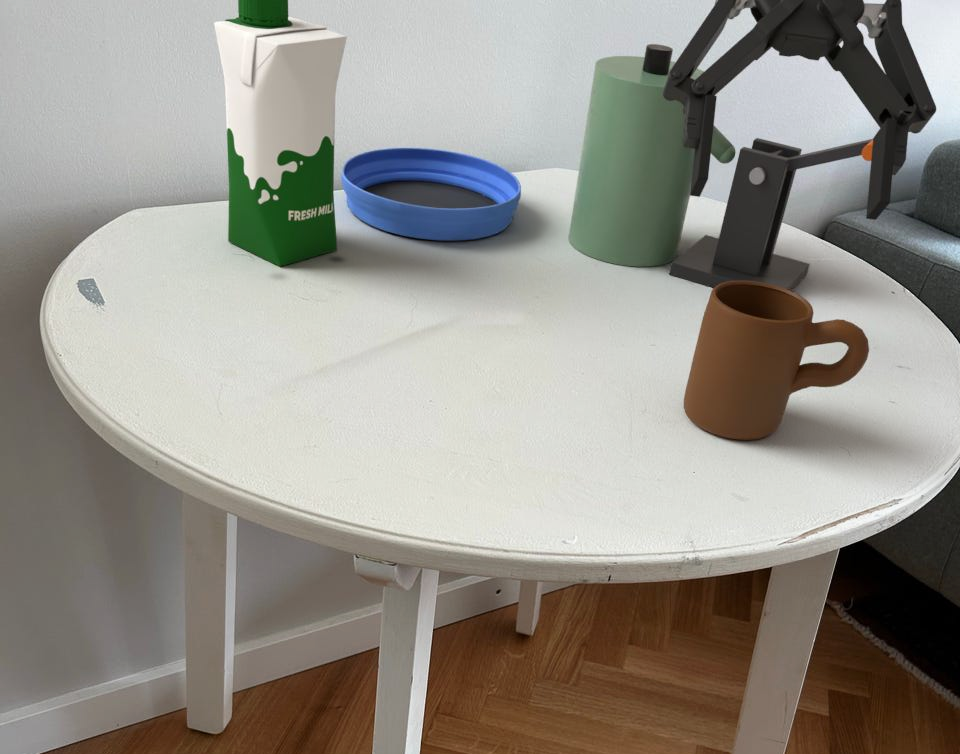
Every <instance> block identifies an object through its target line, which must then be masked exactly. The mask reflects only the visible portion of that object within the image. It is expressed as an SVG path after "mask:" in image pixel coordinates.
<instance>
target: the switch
mask: <svg viewBox="0 0 960 754" xmlns="http://www.w3.org/2000/svg"><path fill="white" fill-rule="evenodd" d="M872 147H873V138H870V139H865V140H861V141H857V142H853V143H848V144H847V143H846V144H843V145H839V146H834V147H830V148H826V149H825V148H824V149H821V150H817V151H812V152H807V153H803V154H802V153H801V154H800V155H798V156H794V157H789V158H790V160H789V164H788V168H787V171H791V170H796V171H797V170H799V169H800V170H801V169H805V168H810V167H814V166H820V165H823V164H828V163H832V162H833V163H834V162H836V161H837V162H838V161H842V160H846V159H851V158H855V157H860V156H861V157H862V159H863V160H864V161H866V162H871V158H872ZM771 154H775V155H779V156H783V150H779V151H775V152H771ZM785 177H786V175H785Z"/></svg>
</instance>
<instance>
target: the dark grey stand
mask: <svg viewBox="0 0 960 754" xmlns="http://www.w3.org/2000/svg"><path fill="white" fill-rule="evenodd" d="M751 145H752V146H751V147H747V146H743V147H741V148H740V149H739V153H738V157H737V161H736V166H735V170H734V174H733V178H732V183H731V186H730V190H729V194H728V199H727V203H726V208H725V211H724V215H723V219H722V224H721V228H720V233H719V236H718V237H715V236H712V235H708V234H705V235H704V236H702V237H701V238H700V239H699V240H697V241H696V242H695V243H694V244H693V245H691V246H690V247H689V248H688V249H686V250H685V251H683V253H681V254H680V255H679V256H677V257H676V258H675V259H674V260H672V261H671V262H670V268H669V272H668V275H670V276H673V277H676V278H679V279H682V280H686V281H690V282H693V283H695V284H701V285H702V286H707V287H709V288H710V287H711V288H712V289H714V288H715V287H716V286H717V285H719V284H721V283H724V282H729V281H755V282H762V283H767V284H771V285H775V286H779V287H782V288H785V289H787V290H790V291H792V292H794V290H795V289H796V288H797V287H798V286H799V284H801V283H802V282H803V280H804V279H805V278H806V277H807V276H808V272H809V269H810V265H811V263H808V262H804V261H801V260H798V259H795V258H790V257H786V256H782V255H781V254H780V255H779V254H775V253H774V252H775V249H776V245H777V241H778V237H779V235H780V230H781V226H782V223H783V219H784V216H785V213H786V209H787V205H788V202H789V198H790V195H791V190H792V187H793V185H794V184H793V183H794V180H795V176H796V172H797V169H796V170H791V171H787V168H788V164H789V160H790V158H789V157H794V156H798V155H802V148H800V147H795V146H792V145H788V144H785V143H784V144H783V143H779V142H775V141H773V140H772V141H771V140H767V139H763V138H759V137H756V138H754V139H753V141H752V144H751ZM779 150H783V156H779V155H775V154H771V152H775V151H779ZM785 175H786V177H785Z"/></svg>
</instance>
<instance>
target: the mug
mask: <svg viewBox="0 0 960 754" xmlns="http://www.w3.org/2000/svg"><path fill="white" fill-rule="evenodd" d="M813 318H814V309H813V306H812V303H810V302H809V300H807V299H806V298H805V297H803V296H801V295H800V294H798V293H796V292H795V291H790V290H787V289H785V288H782V287H779V286H775V285H771V284H767V283H762V282H755V281H729V282H724V283H721V284H719V285H717V286H716V287H715V288H712V290H711V291H710V295H709V298H708V302H707V304H706V307H705V310H704V312H703V316H702V321H701V324H700V328H699V332H698V335H697V340H696V344H695V348H694V352H693V357H692V361H691V364H690V365H691V366H690V369H689V373H688V378H687V383H686V386H685V390H684V396H683V410H684V413H685V415H686V416H687V418H688V419H689V420H690V421H691V422H692V423H693V424H694V425H695V426H697V427H698V428H700V429H701V430H703V431H705V432H708V433H709V434H712V435H716V436H718V437H720V438H721V437H722V438H725V439H730V440H736V441H737V440H738V441H752V440H759V439H763V438H766V437H769V436H771V435H772V434H773V433H774V432H775V431H777V429H778V428H779V426H780V425H781V423H782V420H783V418H784V415H785V412H786V409H787V405H788V403H789V399H790V396H791V395H792V394H794V393H796V392H799V391H802V390H804V389H808V388H810V387H812V388H813V387H815V388H833V387H837V386H840V385H843V384H846V383H848V382H849V381H851V380H852V379H853V378H854V377H856V376H857V375H858V373H859V372H860V371H861V370H862V369H863V367H864V365H865V364H866V362H867V360H868V356H869V352H870V345H869V339H868V337H867V336H866V334H865V332H864V330H863V329H862V328H861V327H859V326H858V325H856V324H855V323H853V322H850V321H848V320H845V319H837V318H836V319H832V320H831V319H830V320H825V321H818V322H813ZM835 343H842V344H844V345H846V346H847V350H846V352H845V354H844V355H843V356H842V357H841V358H840V359H839V360H838V361H836V362H833V363H823V362H805V363H802V364H801V362H802V359H803V356H804V352H805V349H806V348H809V347H813V346H820V345H828V344H835Z"/></svg>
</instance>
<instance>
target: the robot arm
mask: <svg viewBox="0 0 960 754" xmlns="http://www.w3.org/2000/svg"><path fill="white" fill-rule="evenodd" d="M902 3H903V2H902V0H885V1H884V3H870V2H869V3H867V2H866V3H865V1H864V0H715V1H714V5H713V7H712V8H711V10H710V11H709V13H708V14H707V16H706V17H705V19H704V20H703V21H702V23H701V25H700V26H699V27H698V29H697V30H696V32H695V33H694V35H693V36H692V37H691V39H690V40H689V42H688V44H687V45H686V47H685V48H684V50H683V51H682V53H681V54H680V56H679V57H678V58H677V59H676V61H675V62H676V63H675V64H674V66H673V67H672V69H671V70H670V72H669V75H668V78H667V81H666V84H665V87H664V90H663V96H664V98H665V99H666V100H668V101H673V100H677V101H679V102H680V103H682V104H683V106H684V107H683V113H684V115H685V117H684V126H683V136H682V143H683V146H684V147H685V148H692V149H695V153H694V162H693V172H692V181H691V191H690V197H697V198H698V197H699V198H700V197H701V195H702V193H703V191H704V189H705V186H706V184H707V182H708V181H709V173H710V163H711V155H712V154H711V146H712V136H713V127H714V126H715V118H716V117H715V116H716V107H717V94H719V93H720V92H721V91H722V90H723V89H724V88H726V86H728V85H729V83H731V82H732V81H733V80H734V79H735V78H737V76H738V75H740V74H741V73H742V72H743V71H744V70H745V69H747V67H749V66H750V65H751V64H752V63H753V62H755V61H758V60H759V59H760V58H762V57H763V56H764V55H765V54H766V53H767V52H768V51H770V50H771V49H773V50H775V52H778V56H780V57H787V58H788V57H789V58H790V57H797V56H798V57H801V58H804V59H808V60H811V61H817V62H818V61H819V60H820V59H821V58H824V59H825V60H826V61H827V63H828V64H829V65H830V67H831V68H832V70H833V71H834V72H839V73H840V74H841V75H842V77H843V78H844V79H845V81H846V82H847V84H848V86H849V87H850V88H851V89H852V91H853V92H854V94H855V95H856V96H857V97H858V99H859V101H860V102H861V103H862V105H863V106H864V107H865V109H866V110H867V112H868V113H869V114H870V116H871V117H872V119H873V120H874V122H875V123H876V124H877V126H878V127H879V129H878V131H877V132H876V134H874V137H873V138H872V139H873V147H872V158H871V161H870V171H869V180H868V193H867V204H866V213H865V214H866V217H865V219H866V220H867V219H868V220H874V221H876V220H877V219H878V218H879V216H881V214H882V213H883V212H884V210H886V209H887V207H889V205H890V203H891V196H892V195H891V193H892V184H893V182H892V181H893V176H896V175H897V174H898V173H899V171H900V170H901V169H902V167H903V166H904V164H905V162H906V161H907V151H908V138H909V133H911V134H916V135H917V134H919V133H921V132H922V131H923V130H924V129H925V127H926V126H927V124H928V123H929V121H930V120H931V119H932V118H933V117H934V115H935V113H936V112H937V105H936V103H935V100H934V98H933V95H932V93H931V90H930V87H929V86H928V83H927V80H926V79H925V76H924V74H923V71H922V69H921V66H920V64H919V61H918V58H917V56H916V53H915V52H914V48H913V47H912V44H911V41H910V39H909V37H908V35H907V32H906V30H905V27H904V24H903V4H902ZM745 9H749V10H750V13H751V15H752V17H753V19H754V21H755V22H756V24H754V26H753V28H752V29H751V30H750V31H749V32H747V33H746V34H745V35H744V36H743V37H742V38H741V39H740V40H738V41H737V42H736V43H735V44H734V45H733V46H732V47H730V48H729V49H728V50H727V51H725V53H723V55H721V56H720V57H719V58H718V59H717V60H715V62H713V63H712V64H711V65H710V66H709V67H708V68H707V69H706V70H704V72H703V73H702V74H701V75H700V76H699V77H698V78H697V79H695V80H694V79H692V78H691V76H692V75H693V74H694V72H695V71H696V69H699V66H700V65H701V63H702V62H703V60H704V59H705V57H706V56H707V55H708V53H709V51H710V50H711V49H712V47H713V46H714V44H715V43H716V41H717V40H718V39H719V36H720V35H721V34H722V32H723V30H724V29H725V27H726V24H727V22H728V20H734V18H736V17H739V15H740V14H741V13H742V11H743V10H745ZM858 24H862V25H864V26H865V27H866V30H867V36H868V38H869V39H871V40H874V46H875V50H876V53H877V56H878V59H879V61H880V64H881V65H880V64H879V63H878V61H877V60H876V59H875V57H874V55H873V54H872V53H871V51H870V50H869V49H868V47H867V46H866V45H865V37H864V34H863V33H862V31H861V30H860V29H859V27H858ZM841 43H842V46H841V45H840V44H841Z"/></svg>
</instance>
